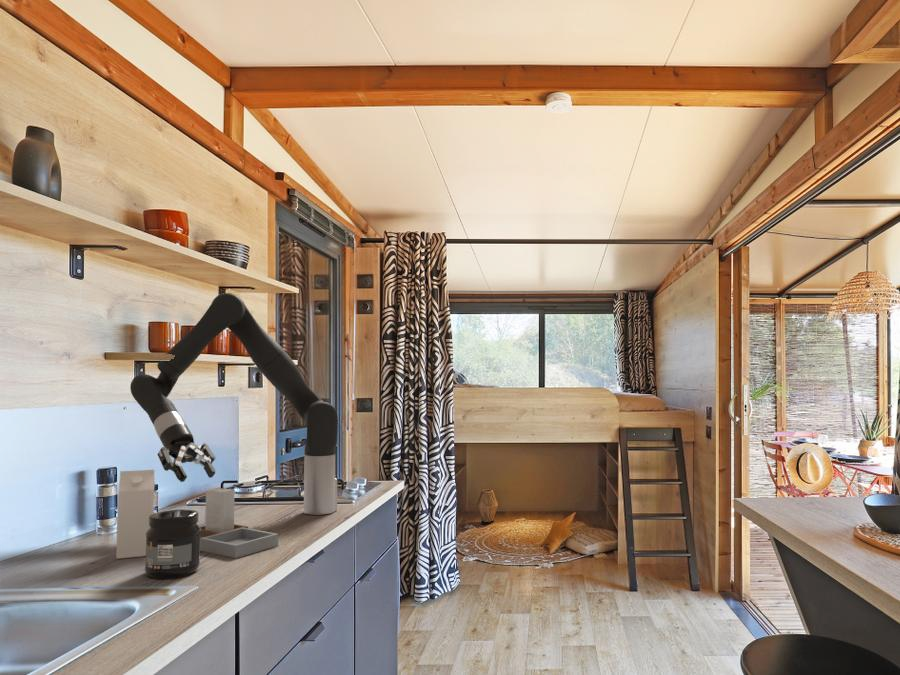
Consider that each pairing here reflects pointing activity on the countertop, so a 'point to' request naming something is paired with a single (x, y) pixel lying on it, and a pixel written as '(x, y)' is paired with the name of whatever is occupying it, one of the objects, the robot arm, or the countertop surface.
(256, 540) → the tray
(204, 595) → the countertop surface
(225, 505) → the skincare box
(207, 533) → the holder
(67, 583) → the countertop surface
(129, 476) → the milk carton
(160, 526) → the supplement container
